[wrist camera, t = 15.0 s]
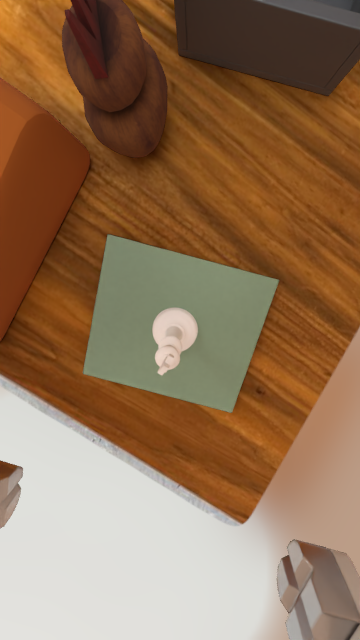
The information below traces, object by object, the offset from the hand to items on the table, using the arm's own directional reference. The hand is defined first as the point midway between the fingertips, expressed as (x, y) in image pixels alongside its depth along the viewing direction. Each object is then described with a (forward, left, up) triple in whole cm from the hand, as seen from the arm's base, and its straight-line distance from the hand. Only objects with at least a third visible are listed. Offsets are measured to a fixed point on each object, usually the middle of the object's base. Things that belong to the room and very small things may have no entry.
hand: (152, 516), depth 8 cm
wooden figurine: (+9, -17, -22) cm, 29 cm away
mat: (+1, +1, -22) cm, 22 cm away
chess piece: (+1, +1, -22) cm, 22 cm away
